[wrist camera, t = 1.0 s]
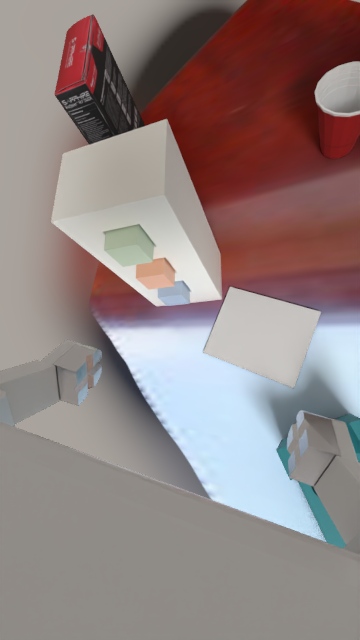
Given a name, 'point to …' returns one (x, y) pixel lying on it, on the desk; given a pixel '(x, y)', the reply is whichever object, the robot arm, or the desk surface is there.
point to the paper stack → (263, 335)
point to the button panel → (139, 206)
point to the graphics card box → (94, 85)
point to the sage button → (129, 245)
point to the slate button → (175, 294)
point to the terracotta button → (156, 274)
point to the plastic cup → (339, 109)
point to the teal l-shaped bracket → (356, 428)
